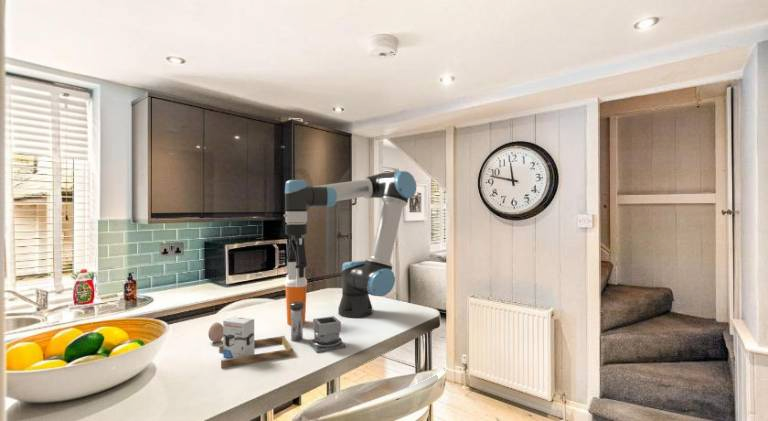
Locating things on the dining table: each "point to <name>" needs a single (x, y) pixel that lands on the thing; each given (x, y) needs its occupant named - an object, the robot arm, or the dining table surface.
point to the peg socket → (326, 334)
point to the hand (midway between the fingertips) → (296, 283)
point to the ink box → (238, 337)
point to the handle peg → (296, 321)
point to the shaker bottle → (294, 296)
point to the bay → (262, 356)
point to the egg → (216, 332)
